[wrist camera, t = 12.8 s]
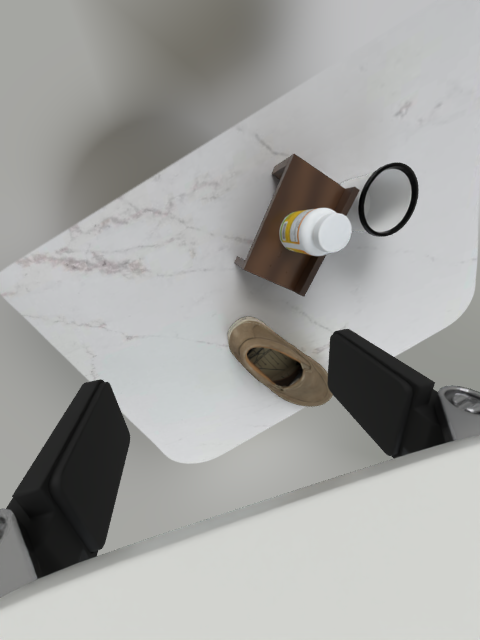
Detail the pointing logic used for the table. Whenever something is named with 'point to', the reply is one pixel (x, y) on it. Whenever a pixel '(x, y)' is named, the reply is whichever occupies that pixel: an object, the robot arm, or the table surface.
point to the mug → (383, 199)
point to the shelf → (290, 196)
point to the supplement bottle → (315, 231)
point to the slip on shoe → (278, 363)
